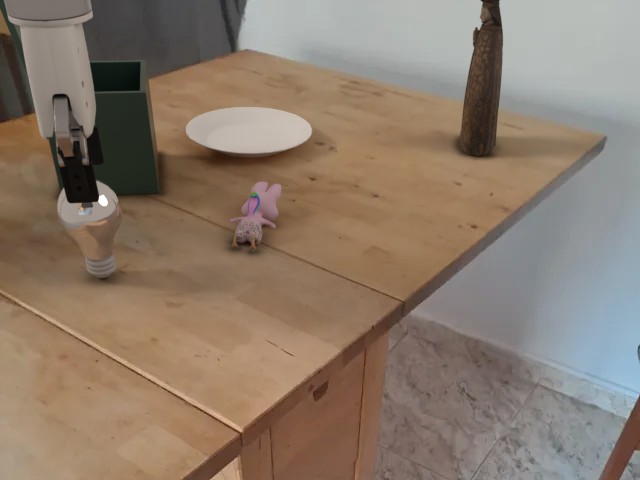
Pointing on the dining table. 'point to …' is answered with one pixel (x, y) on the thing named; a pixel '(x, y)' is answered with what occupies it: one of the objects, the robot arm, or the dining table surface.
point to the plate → (249, 131)
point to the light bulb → (93, 228)
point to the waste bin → (123, 128)
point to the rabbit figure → (257, 213)
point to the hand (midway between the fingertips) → (87, 181)
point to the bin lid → (14, 33)
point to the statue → (483, 84)
